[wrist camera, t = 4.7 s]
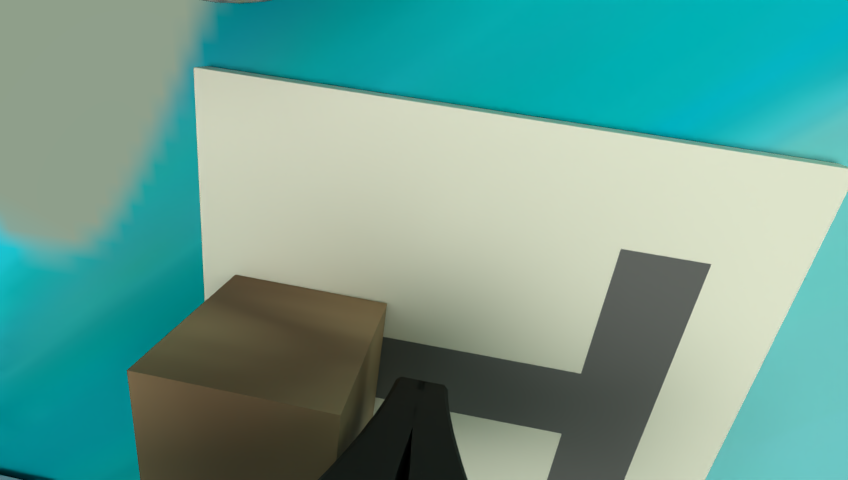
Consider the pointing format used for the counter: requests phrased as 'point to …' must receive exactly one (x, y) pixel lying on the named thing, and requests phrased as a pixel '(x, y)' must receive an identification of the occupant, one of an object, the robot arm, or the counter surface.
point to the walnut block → (257, 384)
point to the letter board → (521, 262)
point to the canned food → (236, 1)
